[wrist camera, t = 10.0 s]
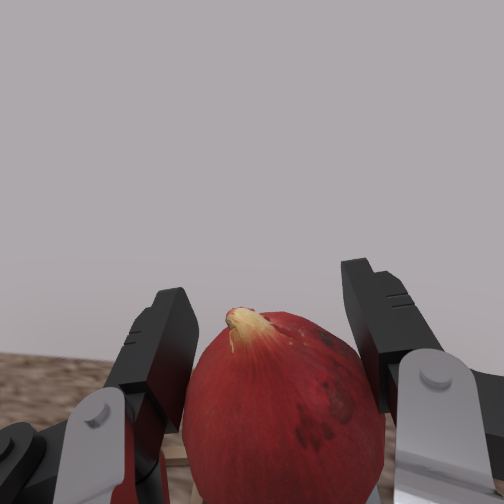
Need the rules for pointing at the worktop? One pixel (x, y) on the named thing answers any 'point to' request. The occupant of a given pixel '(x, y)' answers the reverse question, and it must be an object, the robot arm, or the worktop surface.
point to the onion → (281, 416)
